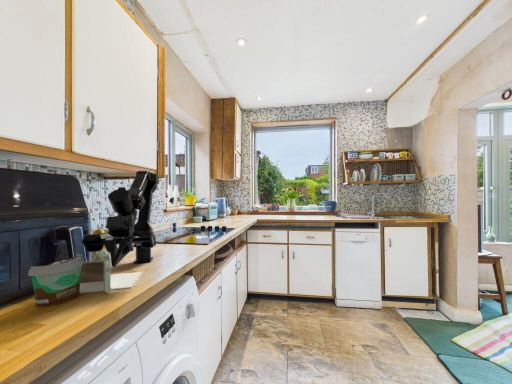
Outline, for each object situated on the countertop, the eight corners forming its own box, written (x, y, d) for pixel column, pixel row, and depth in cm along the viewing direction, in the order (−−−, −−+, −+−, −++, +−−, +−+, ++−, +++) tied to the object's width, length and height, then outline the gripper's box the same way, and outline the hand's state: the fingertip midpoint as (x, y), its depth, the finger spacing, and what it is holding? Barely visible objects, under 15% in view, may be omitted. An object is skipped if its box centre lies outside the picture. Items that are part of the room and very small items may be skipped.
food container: (49, 312, 53) (48, 268, 53) (28, 309, 54) (27, 267, 54) (96, 289, 65) (96, 254, 65) (78, 287, 66) (78, 252, 66)
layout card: (85, 277, 77) (85, 276, 77) (142, 272, 81) (142, 271, 81) (59, 295, 62) (59, 293, 62) (131, 288, 67) (131, 286, 67)
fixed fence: (79, 282, 72) (79, 255, 72) (108, 279, 73) (108, 253, 74) (76, 284, 70) (77, 256, 70) (106, 281, 72) (106, 254, 72)
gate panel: (108, 279, 72) (108, 253, 73) (110, 291, 63) (110, 261, 63) (103, 280, 72) (103, 254, 72) (104, 292, 62) (104, 262, 62)
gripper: (84, 207, 68) (63, 253, 58) (152, 205, 73) (144, 247, 62) (95, 230, 76) (79, 274, 65) (156, 227, 80) (150, 268, 70)
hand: (113, 266), depth 65 cm, fingers closed
